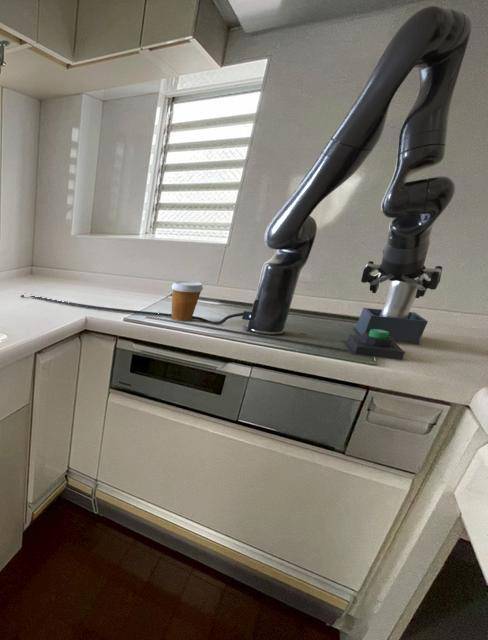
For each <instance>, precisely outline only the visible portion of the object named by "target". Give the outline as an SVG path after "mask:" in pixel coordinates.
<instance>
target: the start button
mask: <svg viewBox="0 0 488 640" xmlns="http://www.w3.org/2000/svg"><path fill="white" fill-rule="evenodd" d="M388 334H389V332H388V331H384V330H379V329H371V330H370V333H369V335H368V336H370V337H374V338H381V339H387V337H388Z"/></svg>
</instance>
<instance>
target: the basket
mask: <svg viewBox="0 0 488 640" xmlns="http://www.w3.org/2000/svg"><path fill="white" fill-rule="evenodd" d="M382 310H383V308H370V307H362V310H361V313H360V315H359V318H358V320H357V324H356V325H355V326H356V327H355V330H356V331H357V333H359V335H361V333H370V330H371V329H379V330H384V331H388V332H389V334H388V336H391V337H394V338H395V341H394V342H395V343H396V342H397V343H405V344H413V345H414V344H415V345H419V344H420V341H421V338H422V337H423V334H424V332H425V329H426V328H427V324H428V322H429V321H428V320H427V319H425V318H424V317H422V316H421V315H419V314H418V313H416V312H415V311H414V312H412V311H409V314H408V318H407V319H404V318H394V317H384V316H379V315H380V313H381V311H382Z"/></svg>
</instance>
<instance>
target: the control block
mask: <svg viewBox="0 0 488 640" xmlns="http://www.w3.org/2000/svg"><path fill="white" fill-rule="evenodd" d="M368 335H369V333H361V334H359V335H356V334H349V335H348V336H347V340H346V343H347V345H348V346H349V348H350V349H351V351H352V352H353V355H361V356H367V357H375V358H382V359H389V360H395V361H396V360H398V361H402V360H403V358H404V356H405V354H406V352H405V351H404V350H403V349H402V347H400V346H399V345H398V344H397V343H396V342H395V338H394V337H391V336H388V337H387V339H381V338H374V337H370V336H368Z"/></svg>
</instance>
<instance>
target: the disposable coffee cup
mask: <svg viewBox="0 0 488 640" xmlns="http://www.w3.org/2000/svg"><path fill="white" fill-rule="evenodd" d="M171 289H172V291H171V292H172V295H171V314H172V315H171V317H170V318H171V319H173V320H175V321H183V322H189V321H191V320H193V319H192V316H194V313H195V310H196V307H197V303H198V301H199V298H200V295H201V292H202V291H203V290H204V287H203V283H201V282H198V281H192V280H191V281H190V280H176V281H174V282H173V283H172V285H171Z"/></svg>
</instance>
